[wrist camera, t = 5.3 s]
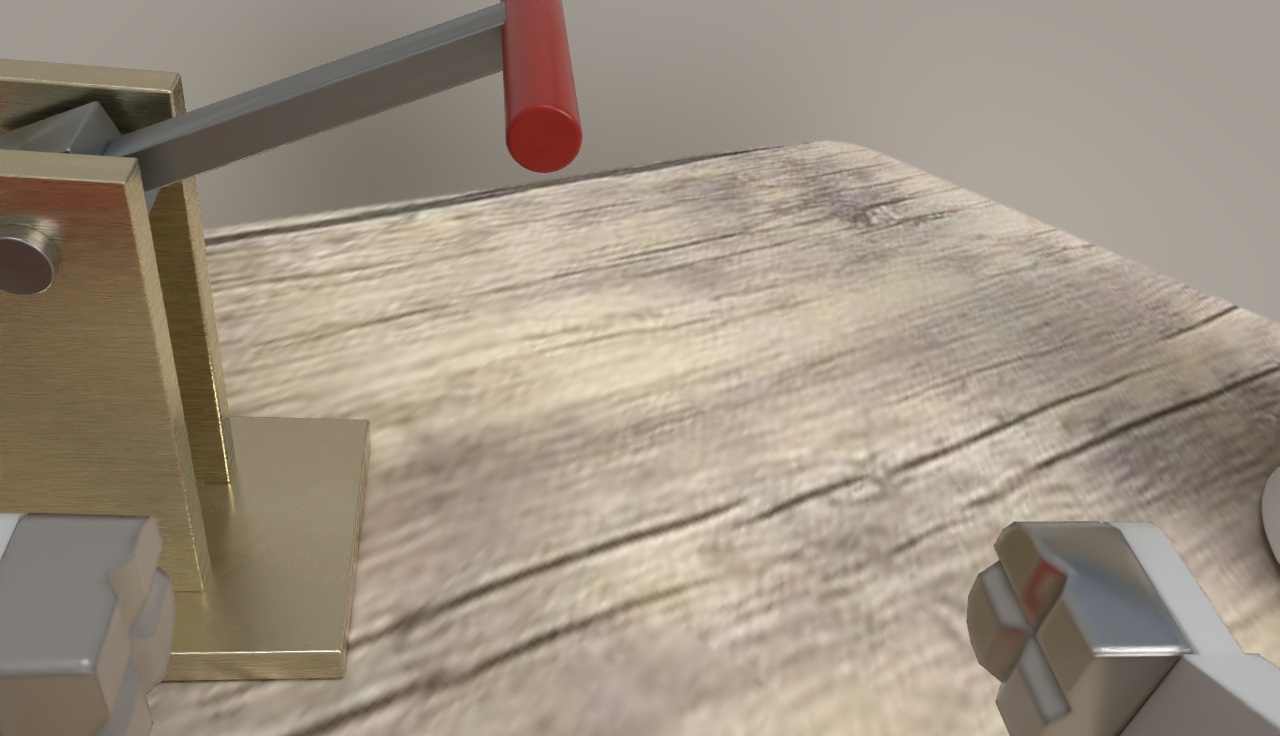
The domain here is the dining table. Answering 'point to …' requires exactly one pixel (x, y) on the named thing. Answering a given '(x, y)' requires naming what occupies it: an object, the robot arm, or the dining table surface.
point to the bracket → (160, 396)
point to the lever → (353, 100)
